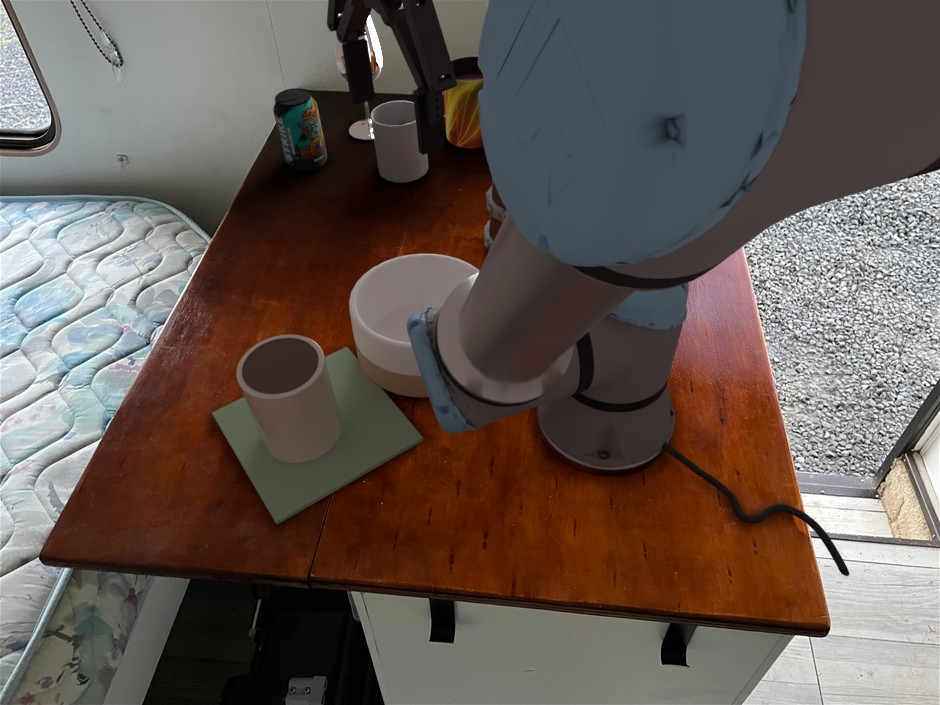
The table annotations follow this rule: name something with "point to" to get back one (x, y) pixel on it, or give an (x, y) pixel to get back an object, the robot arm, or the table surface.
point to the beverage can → (300, 129)
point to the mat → (355, 453)
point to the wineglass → (364, 126)
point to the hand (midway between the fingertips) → (395, 124)
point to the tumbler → (290, 397)
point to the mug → (464, 104)
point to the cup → (397, 142)
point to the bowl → (399, 314)
